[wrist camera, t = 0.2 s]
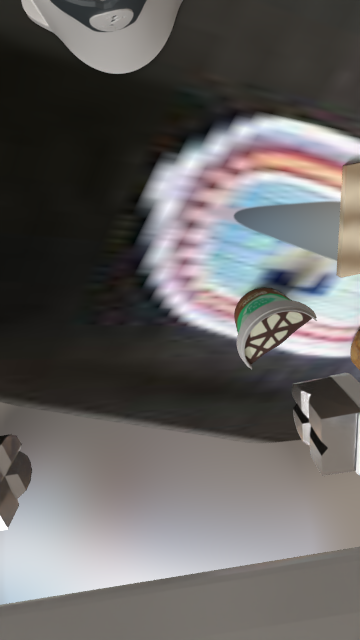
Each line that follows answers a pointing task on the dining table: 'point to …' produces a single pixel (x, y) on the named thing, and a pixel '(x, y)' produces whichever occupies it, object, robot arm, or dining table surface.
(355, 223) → the birch board
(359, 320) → the dining table surface
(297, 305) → the food container
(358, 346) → the rough brown rock
